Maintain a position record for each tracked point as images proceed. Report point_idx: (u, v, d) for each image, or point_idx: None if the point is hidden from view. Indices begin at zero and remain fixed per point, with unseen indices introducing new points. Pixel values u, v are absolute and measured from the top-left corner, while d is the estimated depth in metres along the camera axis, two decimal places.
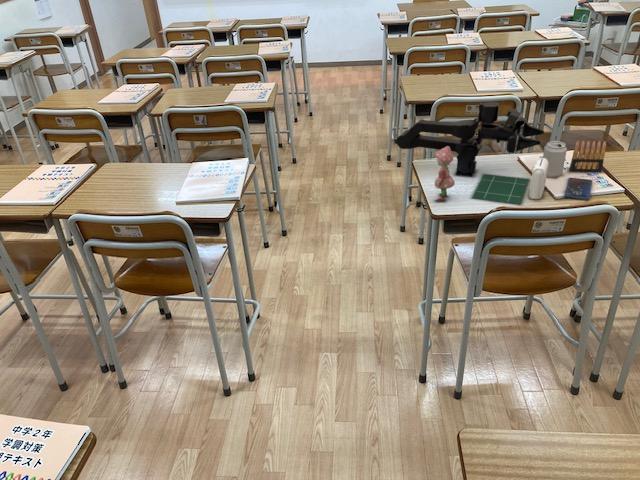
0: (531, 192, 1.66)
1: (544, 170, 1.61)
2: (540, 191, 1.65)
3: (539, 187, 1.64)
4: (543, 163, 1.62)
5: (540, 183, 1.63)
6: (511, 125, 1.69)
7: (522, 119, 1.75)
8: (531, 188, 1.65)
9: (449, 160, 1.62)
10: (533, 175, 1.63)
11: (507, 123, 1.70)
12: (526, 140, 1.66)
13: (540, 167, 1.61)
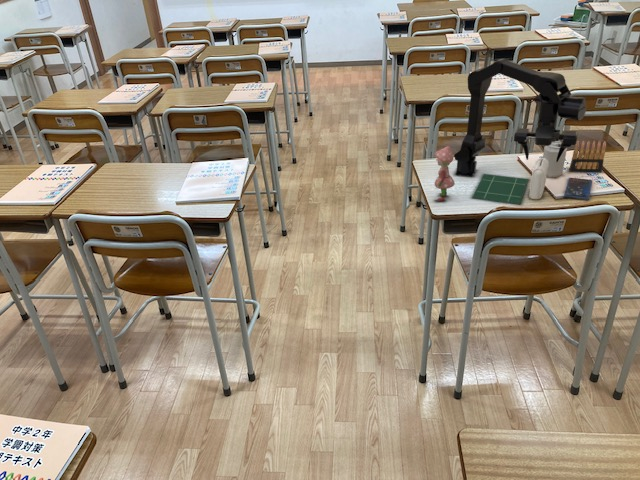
0: (531, 192, 1.66)
1: (544, 170, 1.61)
2: (540, 191, 1.65)
3: (539, 187, 1.64)
4: (543, 163, 1.62)
5: (540, 183, 1.63)
6: None
7: (567, 142, 1.54)
8: (531, 188, 1.65)
9: (449, 160, 1.62)
10: (533, 175, 1.63)
11: (536, 131, 1.55)
12: None
13: (540, 167, 1.61)
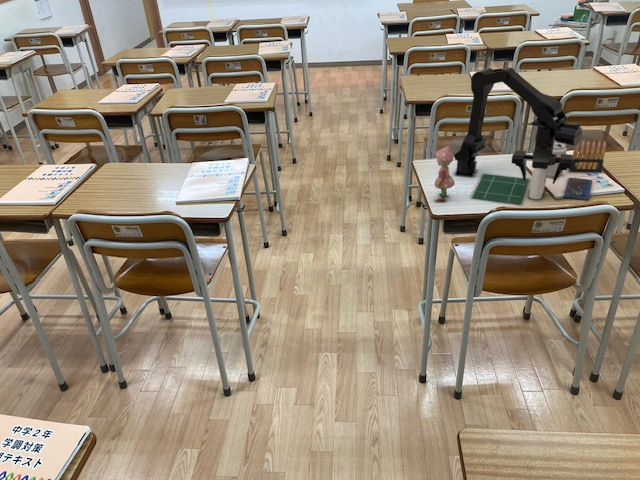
0: (531, 192, 1.66)
1: (544, 170, 1.61)
2: (540, 191, 1.65)
3: (539, 187, 1.64)
4: None
5: (540, 183, 1.63)
6: None
7: (563, 166, 1.58)
8: (531, 188, 1.65)
9: (449, 160, 1.62)
10: (533, 175, 1.63)
11: (533, 155, 1.59)
12: None
13: None
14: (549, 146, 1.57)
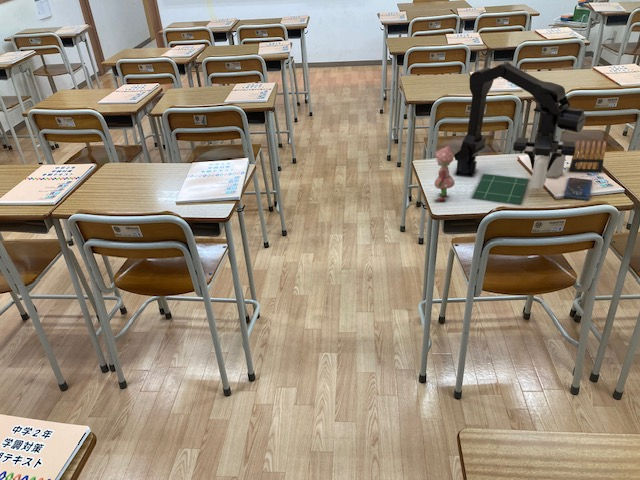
0: (533, 182, 1.64)
1: (546, 159, 1.59)
2: (542, 181, 1.62)
3: (541, 177, 1.62)
4: None
5: (542, 173, 1.61)
6: None
7: (566, 153, 1.56)
8: (533, 178, 1.63)
9: (449, 160, 1.62)
10: (535, 164, 1.61)
11: (535, 141, 1.57)
12: None
13: (542, 156, 1.59)
14: (551, 133, 1.55)
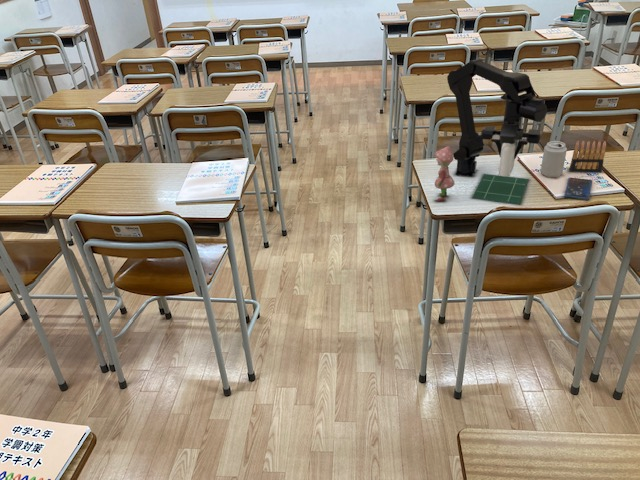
0: (500, 169, 1.67)
1: (512, 147, 1.62)
2: (509, 168, 1.66)
3: (508, 164, 1.65)
4: None
5: (509, 160, 1.64)
6: None
7: (531, 141, 1.59)
8: (500, 165, 1.66)
9: (449, 160, 1.62)
10: (502, 152, 1.64)
11: (501, 129, 1.60)
12: None
13: (509, 144, 1.62)
14: (517, 121, 1.58)
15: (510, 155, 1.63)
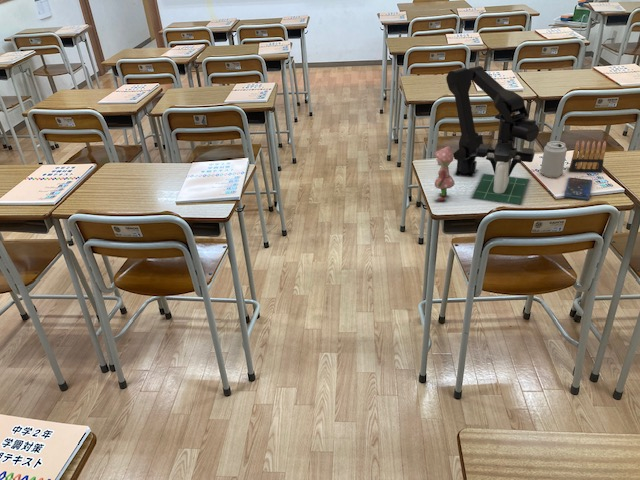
0: (495, 186, 1.71)
1: (506, 165, 1.66)
2: (503, 185, 1.70)
3: (502, 182, 1.69)
4: None
5: (503, 178, 1.68)
6: None
7: (524, 159, 1.63)
8: (495, 183, 1.71)
9: (449, 160, 1.62)
10: (496, 170, 1.68)
11: (496, 148, 1.64)
12: None
13: (503, 162, 1.66)
14: (510, 140, 1.62)
15: (504, 173, 1.67)
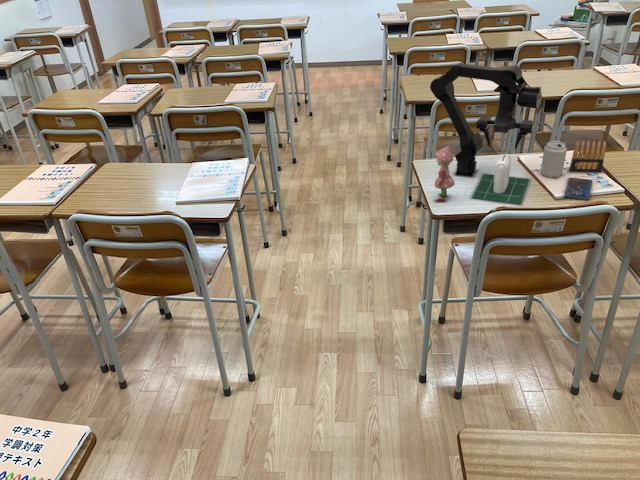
0: (495, 186, 1.71)
1: (506, 165, 1.66)
2: (503, 185, 1.70)
3: (502, 182, 1.69)
4: (505, 158, 1.67)
5: (503, 178, 1.68)
6: None
7: (523, 131, 1.66)
8: (495, 183, 1.71)
9: (449, 160, 1.62)
10: (496, 170, 1.68)
11: None
12: None
13: (502, 162, 1.66)
14: (510, 111, 1.65)
15: (504, 173, 1.67)
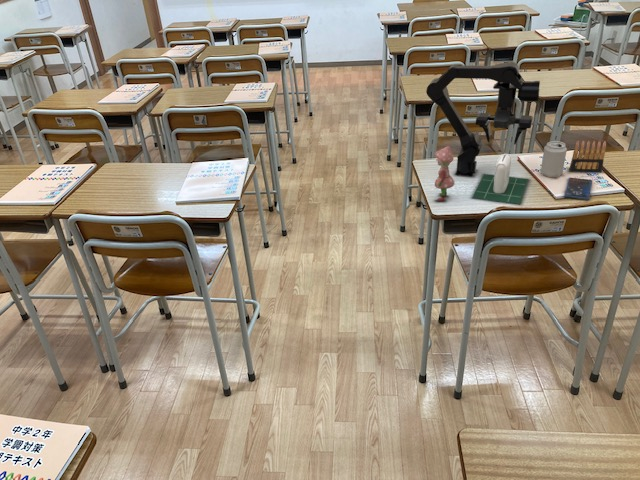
0: (495, 186, 1.71)
1: (506, 165, 1.66)
2: (503, 185, 1.70)
3: (502, 182, 1.69)
4: (505, 158, 1.67)
5: (503, 178, 1.68)
6: None
7: (523, 126, 1.68)
8: (495, 183, 1.71)
9: (449, 160, 1.62)
10: (496, 170, 1.68)
11: (495, 115, 1.69)
12: None
13: (502, 162, 1.66)
14: (509, 107, 1.67)
15: (504, 173, 1.67)
